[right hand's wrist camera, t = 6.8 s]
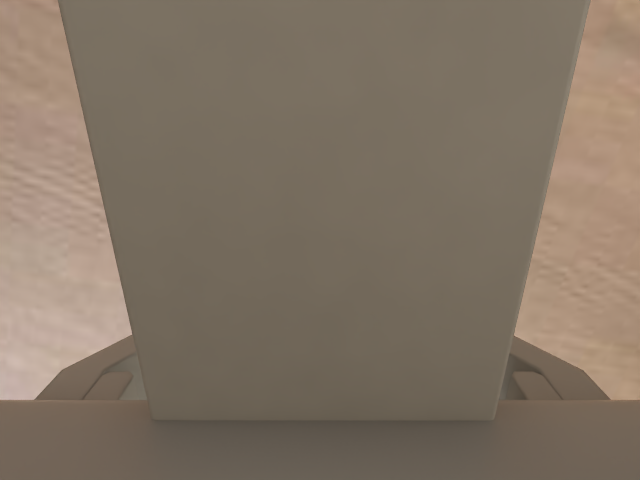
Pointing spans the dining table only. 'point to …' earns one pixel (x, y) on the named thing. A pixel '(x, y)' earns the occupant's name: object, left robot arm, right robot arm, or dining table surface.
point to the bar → (323, 195)
